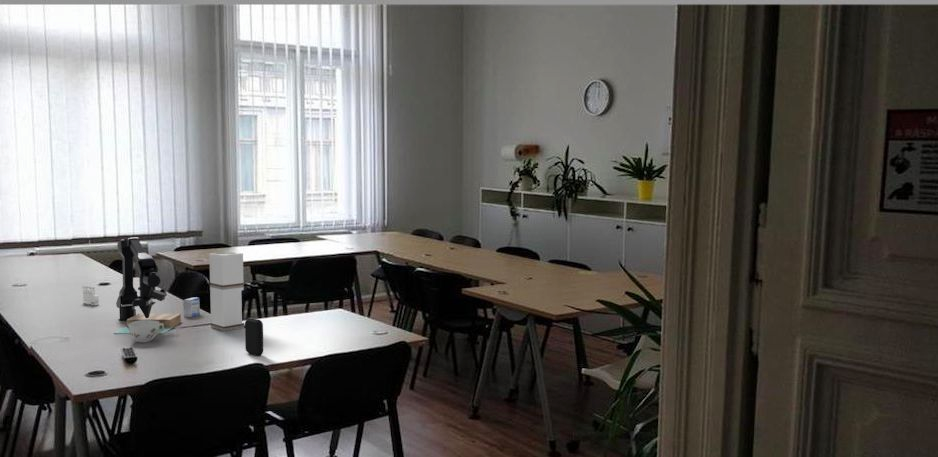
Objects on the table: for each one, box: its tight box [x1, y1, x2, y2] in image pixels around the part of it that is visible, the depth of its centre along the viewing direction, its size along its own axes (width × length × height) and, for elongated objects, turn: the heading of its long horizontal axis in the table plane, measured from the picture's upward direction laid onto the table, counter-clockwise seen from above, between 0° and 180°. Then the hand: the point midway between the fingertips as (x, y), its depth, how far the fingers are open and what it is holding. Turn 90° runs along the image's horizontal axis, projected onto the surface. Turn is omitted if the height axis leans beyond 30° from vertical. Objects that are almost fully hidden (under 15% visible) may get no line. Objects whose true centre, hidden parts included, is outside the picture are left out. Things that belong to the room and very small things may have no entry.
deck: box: [126, 313, 182, 329], centre depth 374 cm, size 20×14×4 cm
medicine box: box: [182, 296, 201, 318], centre depth 397 cm, size 8×4×9 cm, turn 168°
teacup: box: [128, 320, 164, 343], centre depth 342 cm, size 15×12×8 cm
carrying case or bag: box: [243, 317, 264, 357], centre depth 319 cm, size 11×3×15 cm, turn 54°
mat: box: [113, 326, 173, 335], centre depth 362 cm, size 22×12×1 cm, turn 91°
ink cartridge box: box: [82, 285, 100, 306], centre depth 426 cm, size 2×11×10 cm, turn 57°
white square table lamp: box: [209, 251, 245, 332], centre depth 369 cm, size 11×11×35 cm
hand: (147, 318), depth 366 cm, fingers closed
